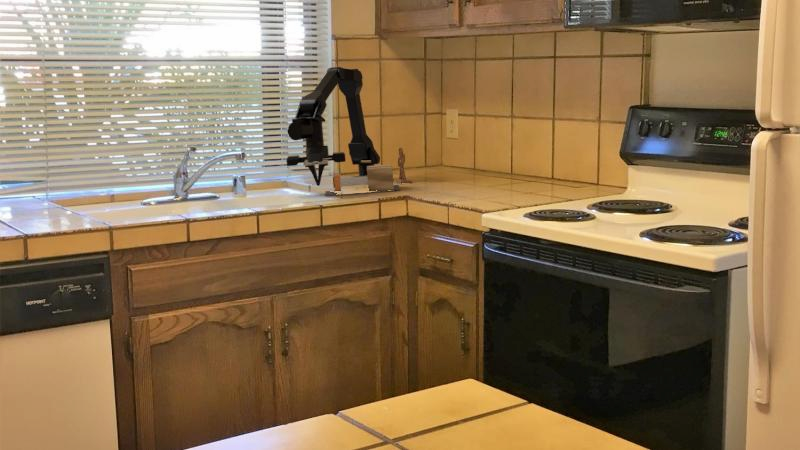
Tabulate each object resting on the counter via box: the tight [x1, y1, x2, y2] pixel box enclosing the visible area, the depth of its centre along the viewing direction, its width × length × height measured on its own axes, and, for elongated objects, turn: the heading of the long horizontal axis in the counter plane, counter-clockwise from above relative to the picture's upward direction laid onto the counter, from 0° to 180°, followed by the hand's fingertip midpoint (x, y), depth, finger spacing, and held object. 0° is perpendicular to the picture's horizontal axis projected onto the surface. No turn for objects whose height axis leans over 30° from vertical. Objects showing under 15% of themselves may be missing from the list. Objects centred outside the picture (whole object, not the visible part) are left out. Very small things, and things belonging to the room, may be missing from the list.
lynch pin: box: [332, 172, 368, 191], centre depth 294 cm, size 5×16×5 cm, turn 93°
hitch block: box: [367, 163, 395, 191], centre depth 294 cm, size 10×8×7 cm
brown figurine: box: [393, 147, 412, 185], centre depth 310 cm, size 9×4×12 cm, turn 15°
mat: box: [324, 184, 401, 197], centre depth 295 cm, size 11×24×1 cm, turn 93°
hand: (318, 185), depth 294 cm, fingers closed
